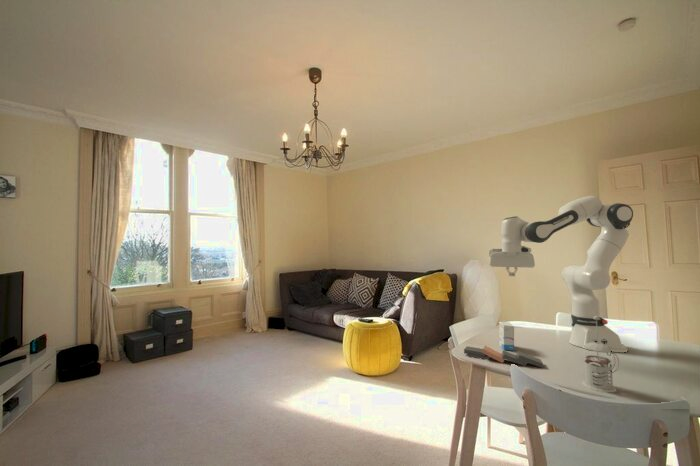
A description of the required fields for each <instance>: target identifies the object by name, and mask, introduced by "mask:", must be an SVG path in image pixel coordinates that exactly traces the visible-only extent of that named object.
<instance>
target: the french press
mask: <svg viewBox="0 0 700 466" xmlns="http://www.w3.org/2000/svg"><path fill="white" fill-rule="evenodd" d="M600 317H601V316H600ZM600 317H598V316H594V317H593V319H596V325H597V320H600ZM584 347H585V348H586V350H587V349H588V351H591V352H596V354H599V353H603V354H604V353H606V355H607V356H609V357H611V356H613V360H614V364H613V365H612V364H611V362H612V361H611V360H610V359H609V358H608V357H603V356H600V355H592V354H591V355H586V356H585V360H584V374H585V375H584V377H585V378H584V380H583V381H581V385H583V386H584V387H585V388H587V389H589V390H592V391H595V392H600V393H605V392H612V393H615V392H614V391H615V390H617V388H616V387H615V386H614V383H613V374H614V373H615V372H617V371H618V370H619V366H620V360H619V357H618V355H617V354H616V353H615V352H611V351H612V349H611V348H609V347H608V346H606V345H604V344H601V343H598V333H597V342H596V343H594V342H591V343H588V344H585V345H584ZM585 348H584V349H585ZM608 353H609V354H608ZM616 359H617V368H616V369H615V370H614V371H613V369H614V367H615V366H616Z"/></svg>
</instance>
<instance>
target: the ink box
mask: <svg viewBox="0 0 700 466" xmlns="http://www.w3.org/2000/svg"><path fill="white" fill-rule="evenodd" d="M498 323H499V326H498V327H499V328H498V329H499V330H498V331H499V333H498V334H499V336H498V337H499V342H498V344H499V346H500V347H501V349H502V351H515V326H514V325H513V324H512V323H511V322H509V321H499V322H498Z"/></svg>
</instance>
